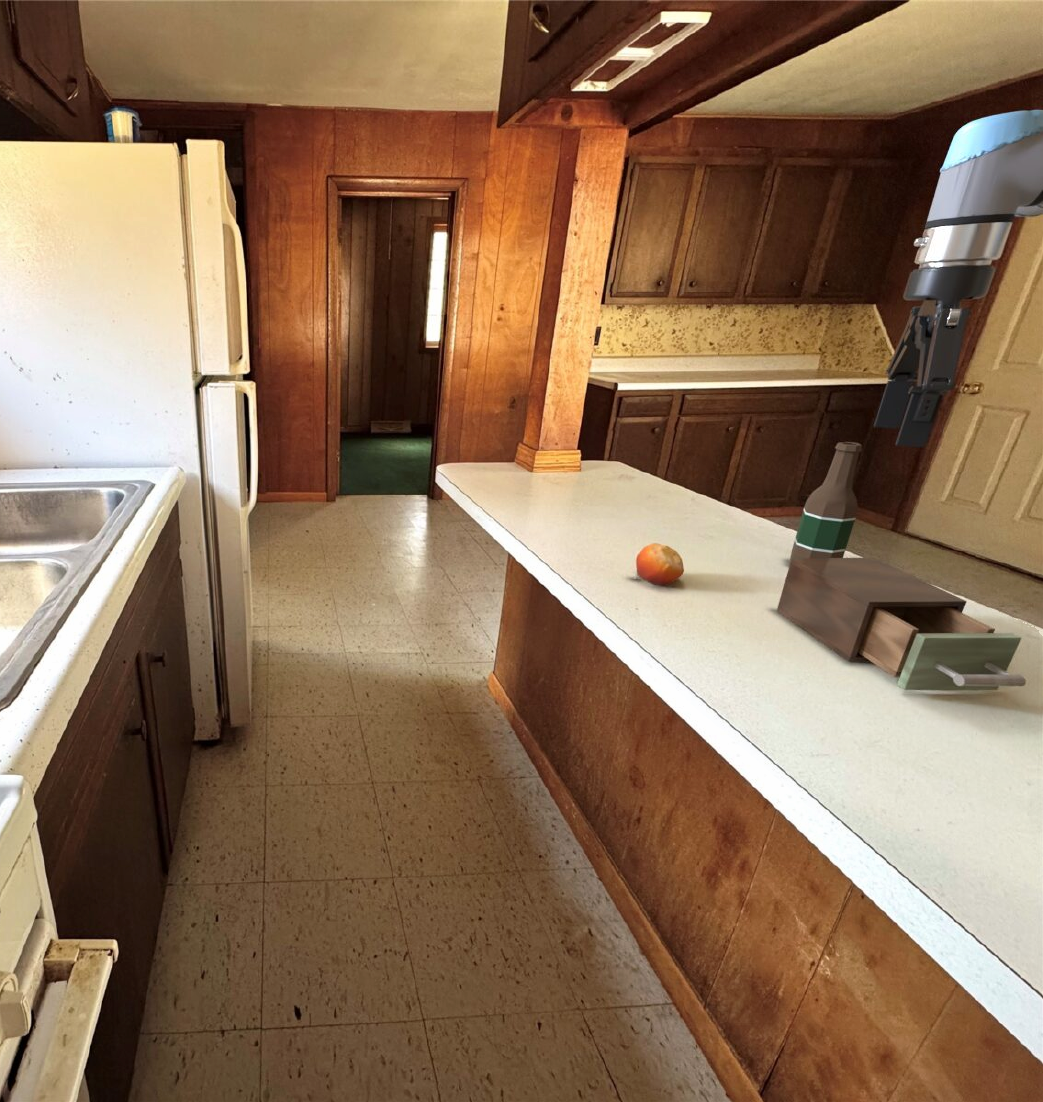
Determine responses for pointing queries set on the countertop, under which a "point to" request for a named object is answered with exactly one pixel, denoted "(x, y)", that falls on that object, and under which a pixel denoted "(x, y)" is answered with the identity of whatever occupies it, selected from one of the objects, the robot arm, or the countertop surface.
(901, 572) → the cabinet
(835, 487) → the beer bottle
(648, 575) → the fruit
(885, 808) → the countertop surface
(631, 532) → the countertop surface
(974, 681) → the drawer
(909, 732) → the countertop surface
